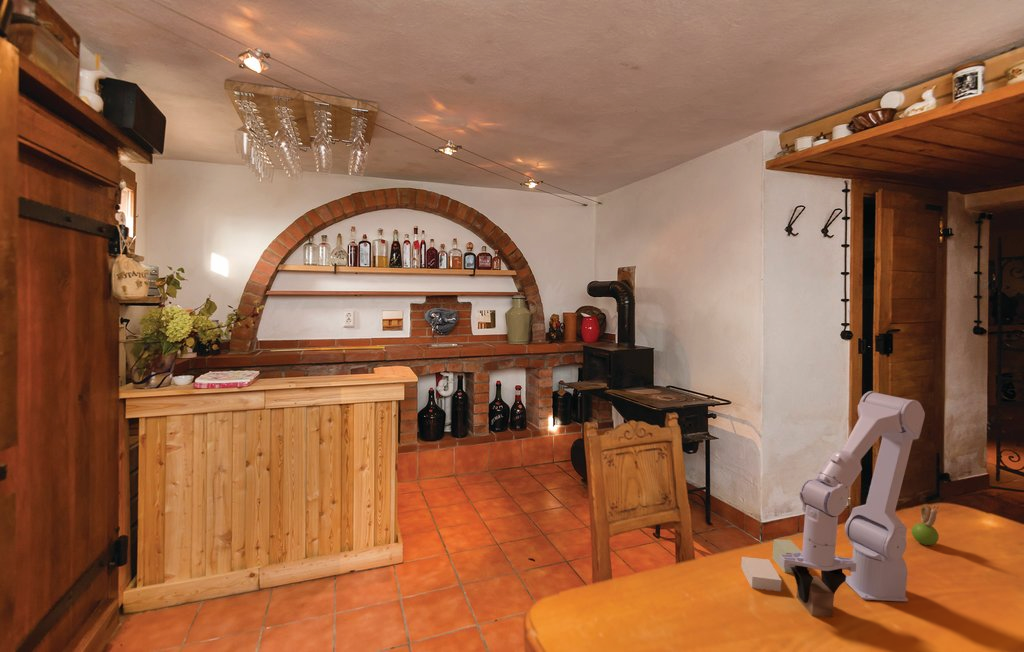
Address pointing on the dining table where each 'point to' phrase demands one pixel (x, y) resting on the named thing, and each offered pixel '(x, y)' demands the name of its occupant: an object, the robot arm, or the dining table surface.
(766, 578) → the pale grey brick
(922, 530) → the green egg with ears
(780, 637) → the dining table surface
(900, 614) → the dining table surface
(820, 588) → the walnut brick
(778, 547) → the sage brick
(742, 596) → the dining table surface
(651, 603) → the dining table surface
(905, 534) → the robot arm
